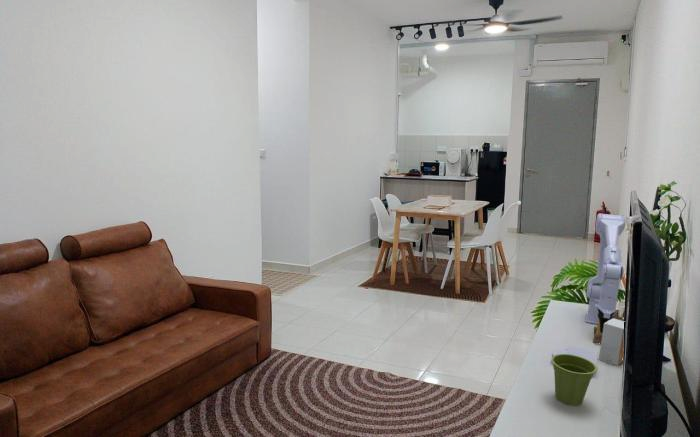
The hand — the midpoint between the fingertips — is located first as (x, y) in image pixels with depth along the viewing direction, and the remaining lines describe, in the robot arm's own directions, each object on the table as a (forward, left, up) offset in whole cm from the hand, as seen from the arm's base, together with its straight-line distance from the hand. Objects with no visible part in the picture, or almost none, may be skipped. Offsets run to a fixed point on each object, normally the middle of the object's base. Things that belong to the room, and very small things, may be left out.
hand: (603, 330), depth 192 cm
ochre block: (0, 0, -4) cm, 4 cm away
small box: (+18, +3, -4) cm, 18 cm away
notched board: (0, 0, -3) cm, 3 cm away
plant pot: (+55, -9, -4) cm, 55 cm away
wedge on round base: (+31, -9, -4) cm, 32 cm away
